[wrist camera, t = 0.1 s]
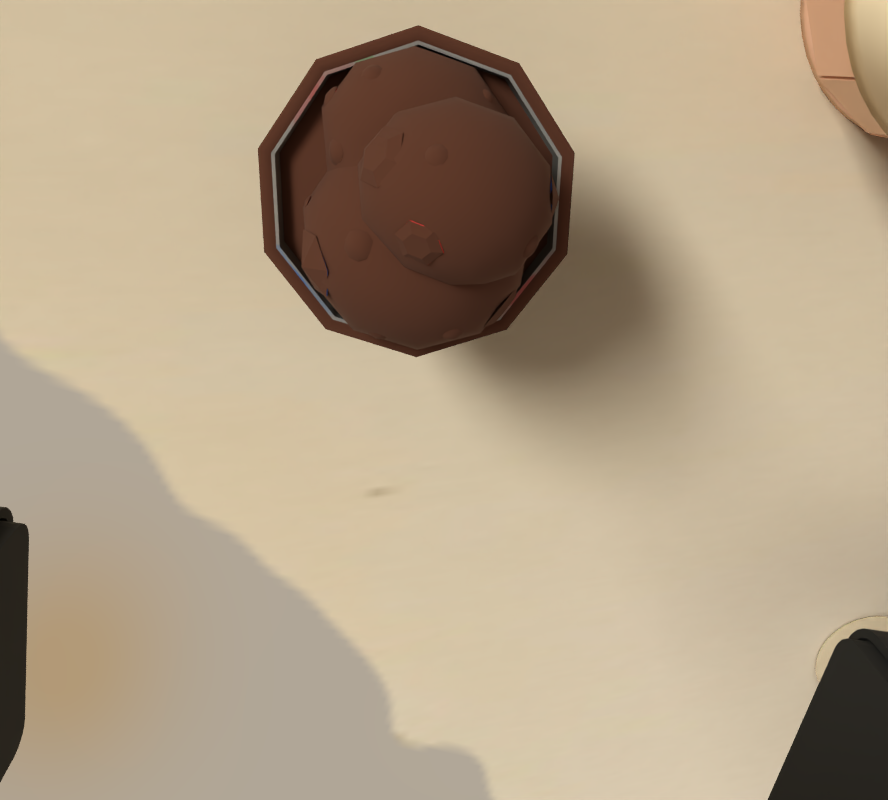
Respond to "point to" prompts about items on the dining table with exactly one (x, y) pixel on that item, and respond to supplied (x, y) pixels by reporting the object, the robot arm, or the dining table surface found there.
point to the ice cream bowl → (415, 191)
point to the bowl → (834, 60)
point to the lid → (869, 53)
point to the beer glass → (844, 633)
